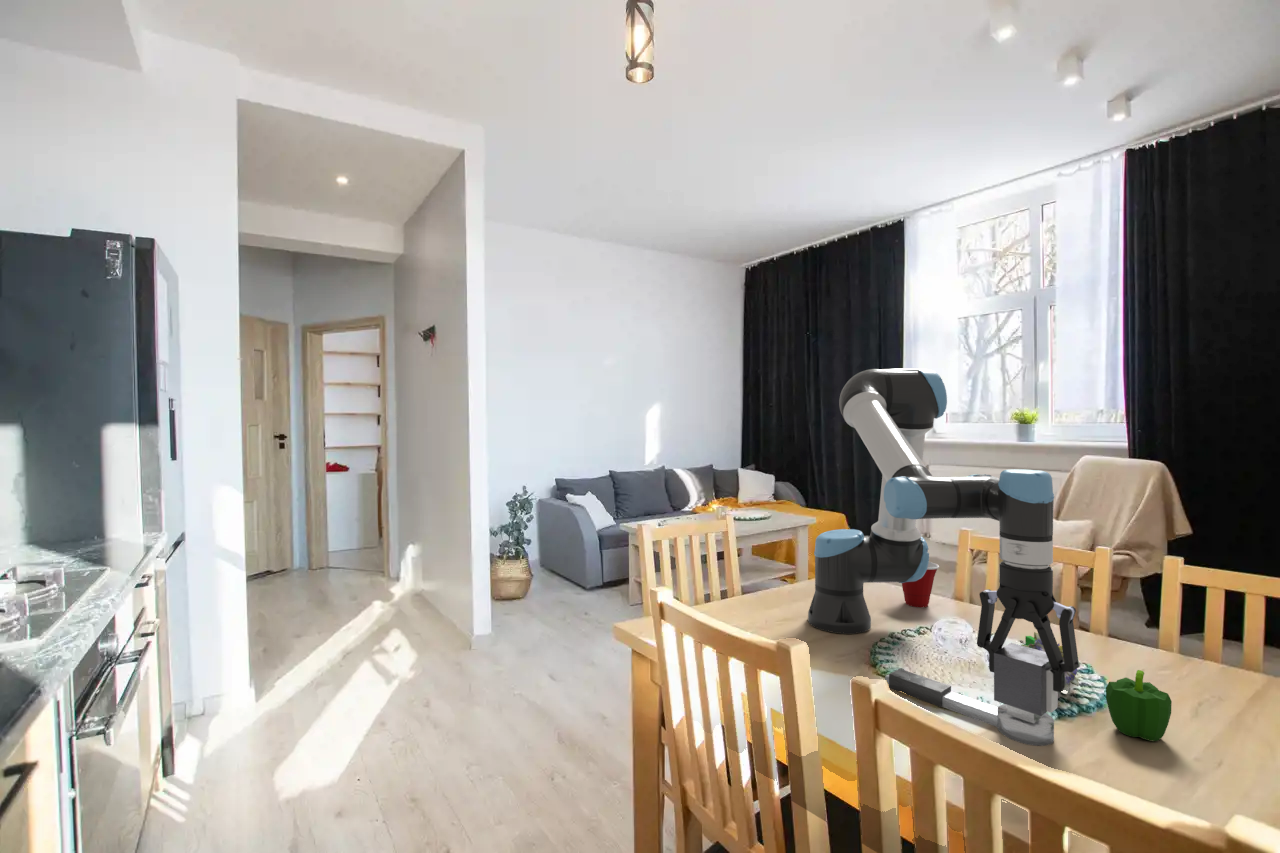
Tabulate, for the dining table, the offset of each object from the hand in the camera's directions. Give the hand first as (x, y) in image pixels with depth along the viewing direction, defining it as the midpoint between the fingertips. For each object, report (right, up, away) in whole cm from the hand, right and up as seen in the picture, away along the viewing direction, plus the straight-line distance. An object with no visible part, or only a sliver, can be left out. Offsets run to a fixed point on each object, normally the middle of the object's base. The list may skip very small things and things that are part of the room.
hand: (1025, 700), depth 102 cm
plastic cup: (+13, -4, +68) cm, 69 cm away
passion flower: (+15, -5, +18) cm, 24 cm away
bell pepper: (+18, -6, 0) cm, 19 cm away
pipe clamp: (+22, -5, +26) cm, 35 cm away
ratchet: (-6, -5, +8) cm, 12 cm away
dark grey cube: (0, 0, 0) cm, 0 cm away
